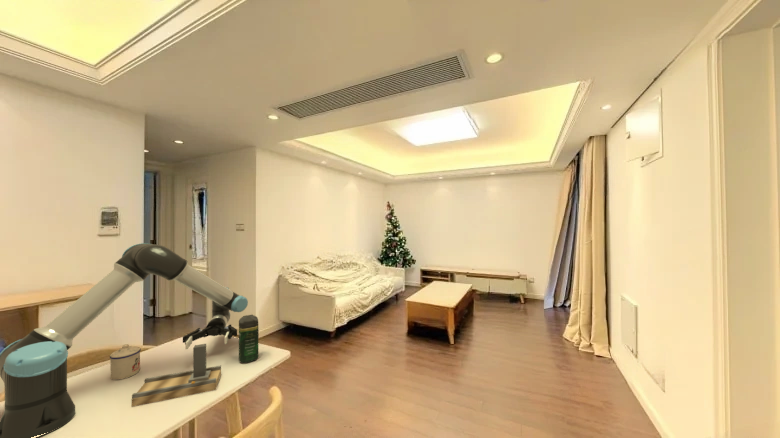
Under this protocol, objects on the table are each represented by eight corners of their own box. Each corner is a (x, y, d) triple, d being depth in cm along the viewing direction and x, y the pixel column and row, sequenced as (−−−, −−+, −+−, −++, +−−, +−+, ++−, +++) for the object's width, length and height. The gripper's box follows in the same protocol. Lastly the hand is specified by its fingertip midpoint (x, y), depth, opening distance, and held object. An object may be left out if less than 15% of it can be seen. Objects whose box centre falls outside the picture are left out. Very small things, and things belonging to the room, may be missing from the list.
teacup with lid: (138, 375, 111) (138, 346, 111) (106, 383, 106) (106, 352, 106) (143, 363, 121) (143, 336, 121) (114, 369, 116) (114, 341, 116)
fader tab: (188, 383, 101) (188, 350, 101) (192, 376, 106) (192, 344, 106) (207, 379, 103) (207, 347, 103) (210, 372, 108) (210, 341, 108)
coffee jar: (259, 360, 123) (259, 318, 123) (239, 365, 119) (239, 321, 119) (257, 351, 131) (257, 312, 131) (238, 356, 127) (237, 315, 127)
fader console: (131, 406, 93) (131, 394, 93) (145, 388, 103) (145, 377, 103) (215, 389, 102) (215, 378, 102) (221, 374, 112) (221, 364, 112)
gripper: (245, 329, 139) (240, 347, 119) (185, 337, 129) (169, 357, 110) (246, 314, 139) (241, 329, 119) (185, 320, 129) (169, 338, 110)
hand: (206, 343), depth 114 cm, fingers open, 13 cm apart
